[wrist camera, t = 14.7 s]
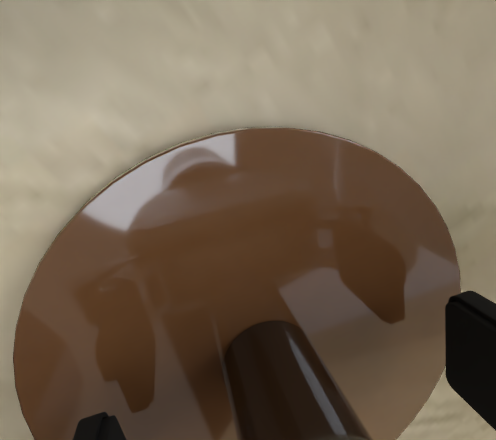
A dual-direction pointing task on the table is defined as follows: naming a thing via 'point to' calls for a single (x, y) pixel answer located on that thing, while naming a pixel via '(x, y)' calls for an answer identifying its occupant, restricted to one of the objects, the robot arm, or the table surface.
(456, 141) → the table surface
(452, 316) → the robot arm
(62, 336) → the lid
